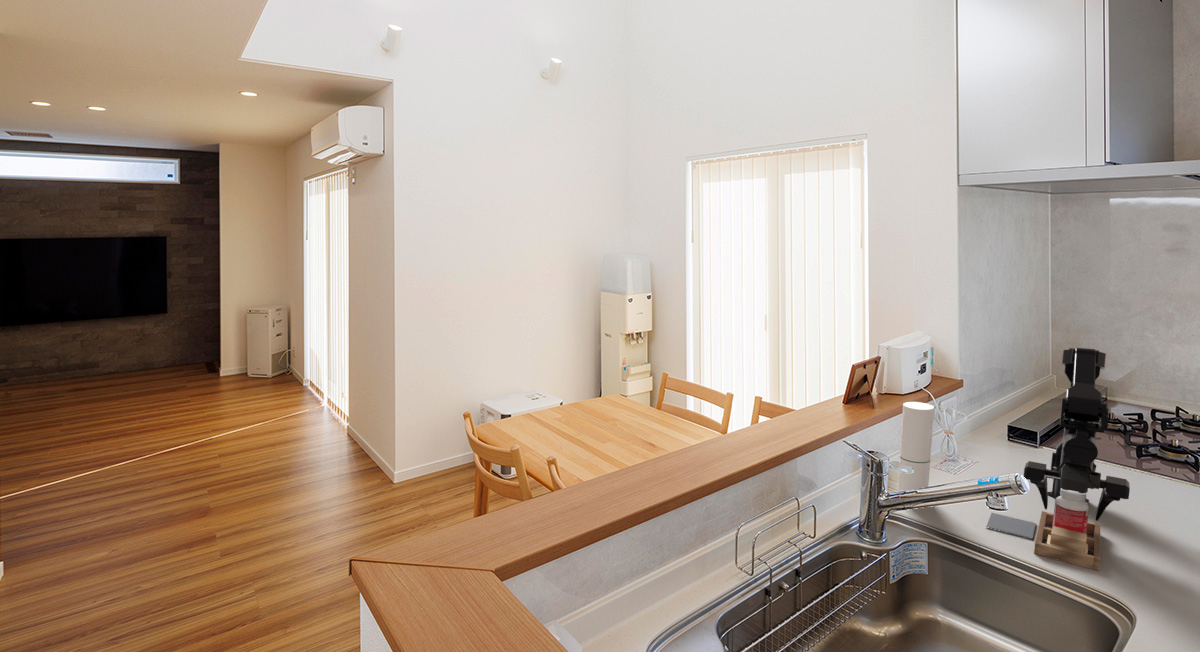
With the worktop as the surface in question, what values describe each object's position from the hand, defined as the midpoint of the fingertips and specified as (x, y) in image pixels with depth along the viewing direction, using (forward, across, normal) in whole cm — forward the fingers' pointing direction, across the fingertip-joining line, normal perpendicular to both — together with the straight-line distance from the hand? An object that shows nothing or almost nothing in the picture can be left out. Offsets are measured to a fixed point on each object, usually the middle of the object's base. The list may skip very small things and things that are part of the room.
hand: (1070, 514), depth 140 cm
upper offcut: (+3, 0, -9) cm, 10 cm away
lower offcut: (+6, 0, -9) cm, 11 cm away
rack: (+5, 0, -5) cm, 7 cm away
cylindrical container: (+5, -33, +1) cm, 34 cm away
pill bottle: (+6, 0, 0) cm, 6 cm away
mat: (+5, -11, -3) cm, 12 cm away
